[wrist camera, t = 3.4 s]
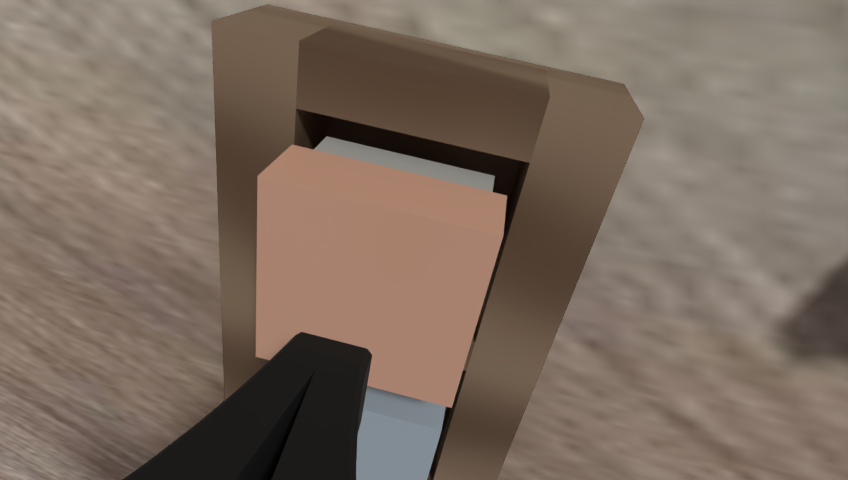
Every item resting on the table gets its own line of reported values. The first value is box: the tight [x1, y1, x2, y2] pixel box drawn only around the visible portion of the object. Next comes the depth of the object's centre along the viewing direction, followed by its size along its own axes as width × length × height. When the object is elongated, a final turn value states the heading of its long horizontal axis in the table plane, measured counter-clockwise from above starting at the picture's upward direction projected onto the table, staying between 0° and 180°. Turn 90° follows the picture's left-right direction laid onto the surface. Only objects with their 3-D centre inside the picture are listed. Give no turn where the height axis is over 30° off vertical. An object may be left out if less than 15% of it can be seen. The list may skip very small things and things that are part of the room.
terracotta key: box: [256, 136, 507, 408], centre depth 13 cm, size 5×5×3 cm
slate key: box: [356, 386, 446, 480], centre depth 18 cm, size 5×5×3 cm
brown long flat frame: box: [212, 5, 644, 480], centre depth 19 cm, size 23×10×3 cm, turn 170°
